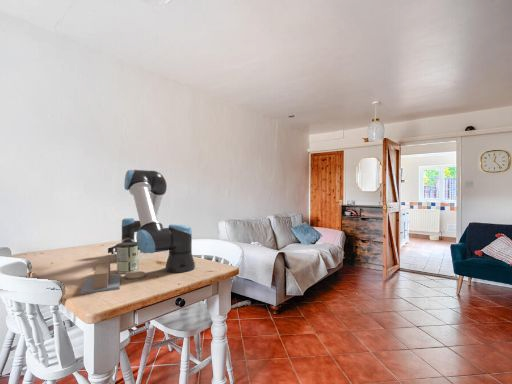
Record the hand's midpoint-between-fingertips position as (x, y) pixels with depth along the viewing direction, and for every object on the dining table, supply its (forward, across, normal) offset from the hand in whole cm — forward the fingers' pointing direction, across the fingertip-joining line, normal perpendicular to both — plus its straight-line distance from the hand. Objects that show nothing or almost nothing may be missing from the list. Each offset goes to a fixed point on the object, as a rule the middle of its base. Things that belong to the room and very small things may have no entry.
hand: (127, 251), depth 148 cm
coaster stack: (+23, -4, -8) cm, 25 cm away
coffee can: (+10, 0, -8) cm, 13 cm away
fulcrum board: (+28, +10, -8) cm, 31 cm away
